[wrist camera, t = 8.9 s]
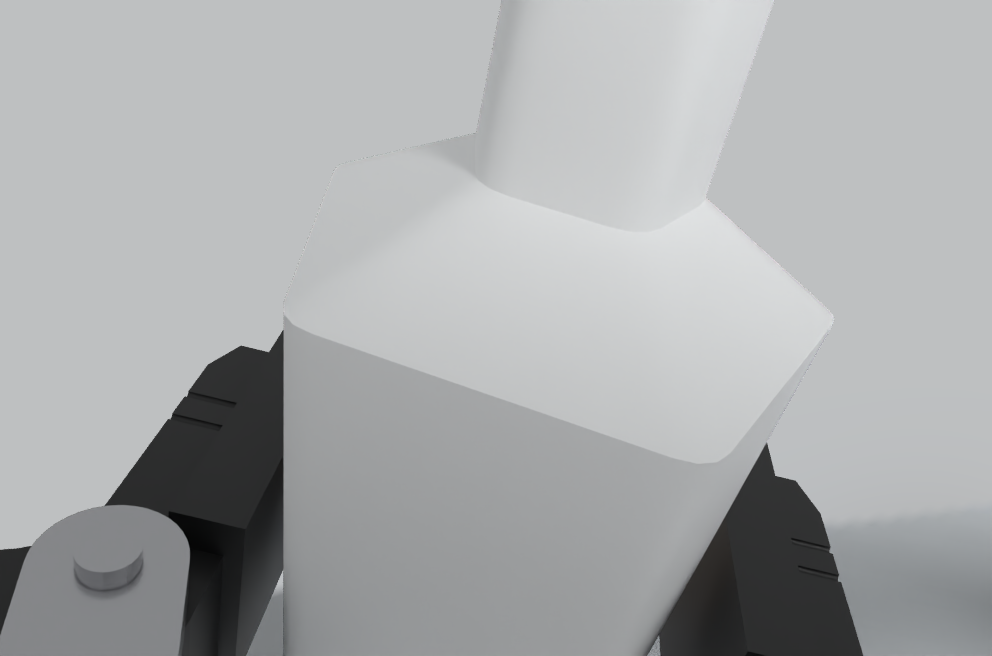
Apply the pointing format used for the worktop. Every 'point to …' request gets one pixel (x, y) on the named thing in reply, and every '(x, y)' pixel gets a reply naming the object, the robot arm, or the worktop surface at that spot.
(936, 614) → the worktop surface
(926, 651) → the worktop surface
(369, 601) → the perfume bottle
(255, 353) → the robot arm
